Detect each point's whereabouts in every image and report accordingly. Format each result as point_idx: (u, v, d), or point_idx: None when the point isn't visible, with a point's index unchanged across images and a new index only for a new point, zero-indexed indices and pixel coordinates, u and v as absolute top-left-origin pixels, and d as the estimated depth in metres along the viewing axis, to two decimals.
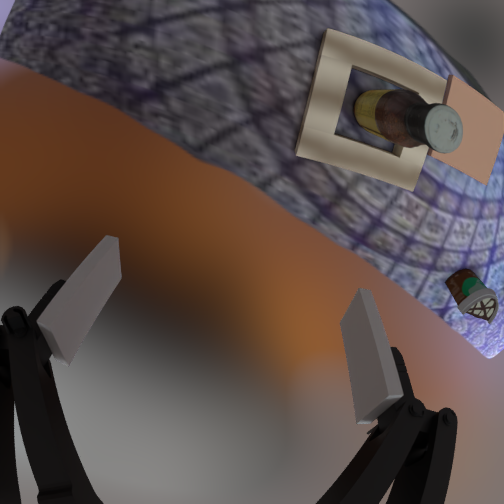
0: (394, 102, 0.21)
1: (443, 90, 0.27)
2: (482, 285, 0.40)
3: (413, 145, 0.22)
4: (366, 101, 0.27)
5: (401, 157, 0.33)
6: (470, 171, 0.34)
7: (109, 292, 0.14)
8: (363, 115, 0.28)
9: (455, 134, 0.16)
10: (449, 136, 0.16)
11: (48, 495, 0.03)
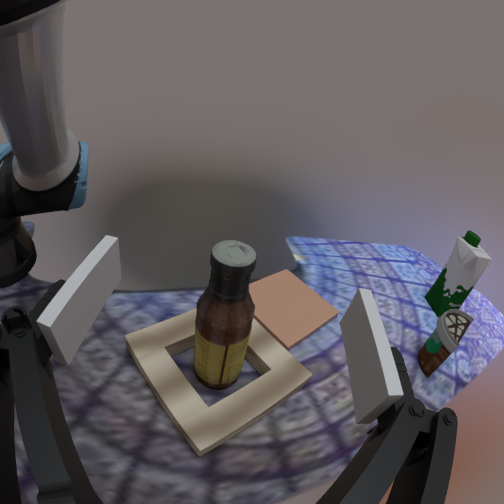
0: (201, 304, 0.27)
1: None
2: (434, 330, 0.42)
3: (246, 312, 0.27)
4: (196, 352, 0.31)
5: (272, 367, 0.35)
6: (319, 320, 0.46)
7: (109, 292, 0.14)
8: (207, 363, 0.30)
9: (243, 248, 0.26)
10: (242, 252, 0.25)
11: (48, 495, 0.03)
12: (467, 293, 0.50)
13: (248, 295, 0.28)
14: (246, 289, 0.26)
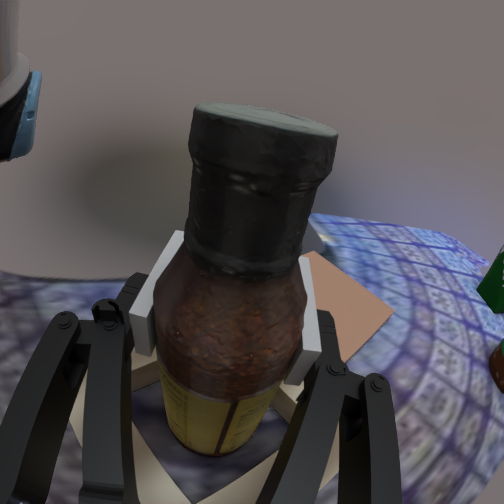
0: (162, 291, 0.09)
1: None
2: None
3: (294, 313, 0.09)
4: (165, 400, 0.13)
5: None
6: (372, 324, 0.28)
7: None
8: (187, 425, 0.12)
9: (292, 116, 0.08)
10: (293, 118, 0.07)
11: (92, 494, 0.04)
12: None
13: (297, 266, 0.10)
14: (299, 242, 0.08)
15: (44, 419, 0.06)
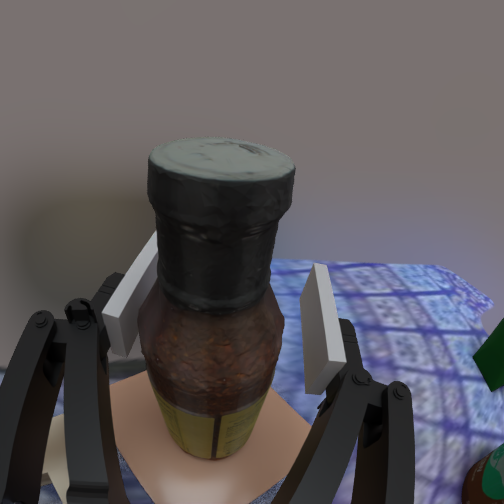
0: (144, 320, 0.10)
1: None
2: None
3: (265, 340, 0.09)
4: None
5: None
6: (276, 470, 0.16)
7: None
8: (181, 434, 0.13)
9: (252, 148, 0.08)
10: (249, 153, 0.07)
11: (79, 493, 0.04)
12: None
13: (268, 294, 0.10)
14: (264, 275, 0.09)
15: (28, 417, 0.06)
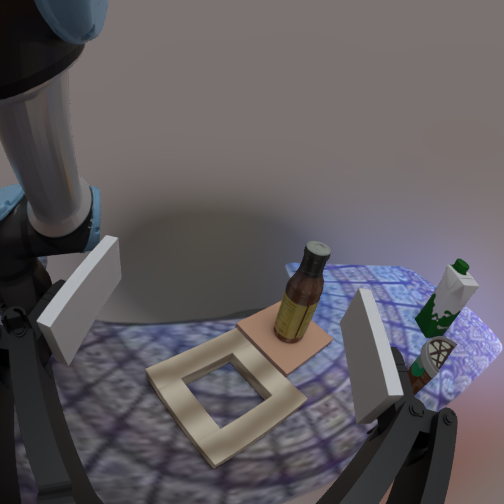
0: (294, 280, 0.45)
1: (241, 334, 0.49)
2: (419, 355, 0.47)
3: (321, 283, 0.45)
4: (282, 314, 0.48)
5: (273, 394, 0.40)
6: (315, 347, 0.51)
7: (109, 292, 0.14)
8: (290, 321, 0.48)
9: (322, 245, 0.43)
10: (322, 247, 0.43)
11: (48, 495, 0.03)
12: (454, 317, 0.55)
13: (321, 274, 0.45)
14: None
15: None
